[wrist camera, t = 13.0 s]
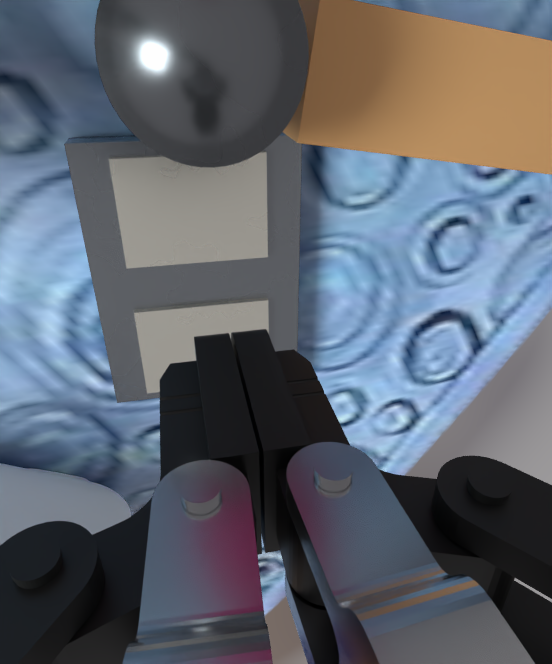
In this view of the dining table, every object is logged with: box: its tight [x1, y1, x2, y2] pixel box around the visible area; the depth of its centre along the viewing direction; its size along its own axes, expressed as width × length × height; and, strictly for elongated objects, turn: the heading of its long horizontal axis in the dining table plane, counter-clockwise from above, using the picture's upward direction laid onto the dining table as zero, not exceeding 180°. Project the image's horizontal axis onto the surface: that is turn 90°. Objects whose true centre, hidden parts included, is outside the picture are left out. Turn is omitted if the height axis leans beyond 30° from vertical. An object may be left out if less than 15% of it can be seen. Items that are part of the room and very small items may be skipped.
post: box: [95, 0, 309, 168], centre depth 14 cm, size 4×4×12 cm
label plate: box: [64, 132, 302, 403], centre depth 23 cm, size 12×9×2 cm
